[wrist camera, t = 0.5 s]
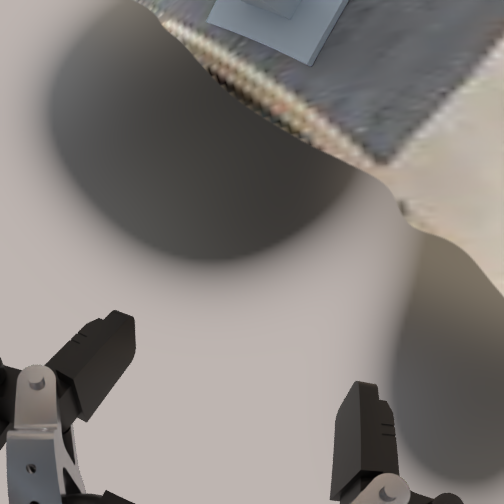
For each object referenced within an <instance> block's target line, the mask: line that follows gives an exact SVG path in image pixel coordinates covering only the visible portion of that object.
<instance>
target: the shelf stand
mask: <svg viewBox="0 0 504 504" xmlns="http://www.w3.org/2000/svg"><path fill="white" fill-rule="evenodd" d="M348 1H349V0H216V2H215V4H214V6H213V8H212V10H211V12H210V14H209V16H208V18H207V21H206V22H207V23H210V24H213V25H216V26H218V27H221V28H224V29H227V30H229V31H232V32H234V33H237V34H240V35H242V36H245V37H247V38H249V39H252V40H254V41H257V42H259V43H261V44H264V45H266V46H268V47H270V48H273V49H275V50H277V51H279V52H281V53H283V54H286V55H288V56H290V57H292V58H294V59H296V60H298V61H300V62H302V63H304V64H306V65H308V66H311V67H312V65H313V63H314V61H315V59H316V58H317V56H318V54H319V52H320V50H321V49H322V47H323V45H324V43H325V41H326V40H327V38H328V36H329V34H330V33H331V31H332V29H333V27H334V25H335V24H336V22H337V20H338V18H339V17H340V15H341V13H342V11H343V10H344V8H345V6H346V5H347V3H348Z"/></svg>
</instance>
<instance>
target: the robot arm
mask: <svg viewBox="0 0 504 504" xmlns="http://www.w3.org/2000/svg"><path fill="white" fill-rule="evenodd" d="M135 349H136V342H135V320H134V317H132V316H130V315H127V314H124V313H122V312H119V311H117V310H113V311H112V312H111V313H110V314H109V315H108V316H107V317H106V318H105V319H104V320H102V319H100V318H98V319H96V320H94V321H92V322H89V323H88V324H86V325H85V326H84V327H83V328H82V329H81V330H80V331H79V332H78V334H76V335H75V336H74V337H73V338H72V339H71V341H68V342H67V343H66V344H65V345H64V347H63V348H62V349H60V350H59V351H58V352H57V354H55V356H53V357H52V358H51V359H50V360H49V362H48V363H46V364H45V365H44V366H43V365H31V366H28V367H26V368H25V369H23V370H19V369H15V368H11V367H8V366H5V365H3V363H2V360H1V358H0V450H1V448H2V447H3V446H4V444H5V443H6V442H7V444H6V450H7V451H6V452H7V453H6V454H7V482H8V497H9V504H135V503H132V502H130V501H128V500H126V499H123V498H121V497H119V496H117V495H115V494H113V493H111V492H109V491H107V490H106V491H105V492H104V494H103V496H102V495H96V494H86V490H85V487H84V483H83V480H82V478H81V475H80V471H79V466H78V460H77V454H76V447H75V439H74V430H73V424H72V423H73V422H74V421H75V419H76V418H77V417H78V418H79V419H81V420H83V421H85V422H88V420H89V419H90V417H91V416H92V415H93V413H94V412H95V411H96V409H97V408H98V406H99V405H100V404H101V402H102V401H103V400H104V398H105V397H106V396H107V394H108V393H109V392H110V390H111V389H112V387H113V386H114V384H115V383H116V382H117V381H118V379H119V378H120V377H121V375H122V374H123V373H124V371H125V370H126V368H127V367H128V366H129V365H130V363H131V362H132V360H133V358H134V354H135ZM395 435H396V434H395V428H394V417H393V412H392V410H391V408H390V407H389V405H388V403H387V401H383V400H379V395H378V387H377V385H376V384H370V383H365V382H360V381H356V382H354V384H353V385H352V387H351V389H350V391H349V392H348V394H347V396H346V398H345V399H344V401H343V403H342V404H341V406H340V408H339V410H338V413H337V416H336V421H335V437H334V454H333V469H332V481H331V493H330V500H334V501H340V504H463V502H462V500H461V499H460V498H459V497H458V496H456V495H454V494H451V493H443V494H441V495H439V496H437V497H436V498H435V499H432V498H429V497H426V496H423V495H419V494H417V493H414V492H412V491H411V490H410V488H409V486H408V484H407V482H406V481H405V480H404V479H403V478H402V477H400V476H399V466H398V454H397V444H396V437H395Z"/></svg>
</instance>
